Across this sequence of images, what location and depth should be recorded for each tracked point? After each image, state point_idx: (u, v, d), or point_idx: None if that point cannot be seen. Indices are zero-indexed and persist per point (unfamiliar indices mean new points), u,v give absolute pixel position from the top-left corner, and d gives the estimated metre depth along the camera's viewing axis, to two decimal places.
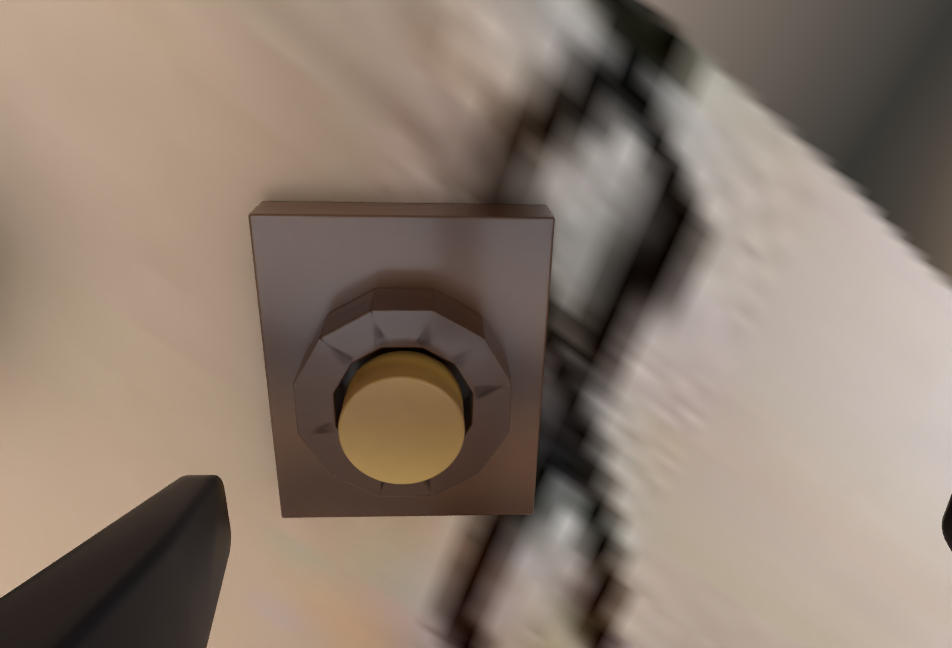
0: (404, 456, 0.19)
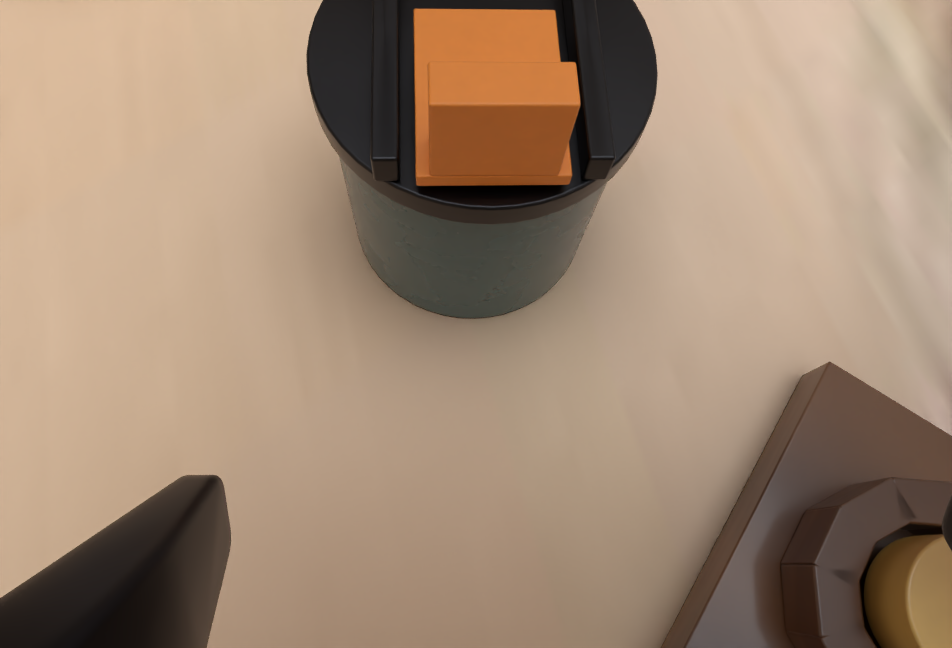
0: None
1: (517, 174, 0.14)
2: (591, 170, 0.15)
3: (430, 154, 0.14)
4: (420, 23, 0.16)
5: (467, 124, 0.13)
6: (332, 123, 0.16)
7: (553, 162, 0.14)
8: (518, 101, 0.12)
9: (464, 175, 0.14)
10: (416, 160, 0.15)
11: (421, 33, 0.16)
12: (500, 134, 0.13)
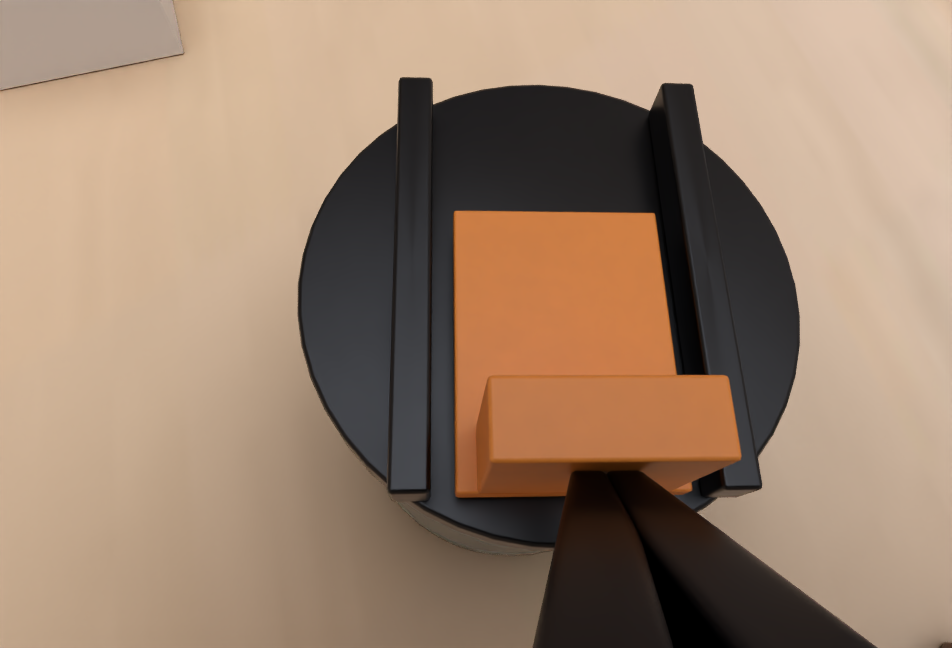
0: None
1: None
2: (720, 494, 0.10)
3: (482, 483, 0.09)
4: (463, 233, 0.11)
5: (548, 471, 0.08)
6: (331, 400, 0.11)
7: (669, 485, 0.09)
8: (638, 452, 0.07)
9: (529, 491, 0.09)
10: (456, 464, 0.10)
11: (464, 250, 0.11)
12: None
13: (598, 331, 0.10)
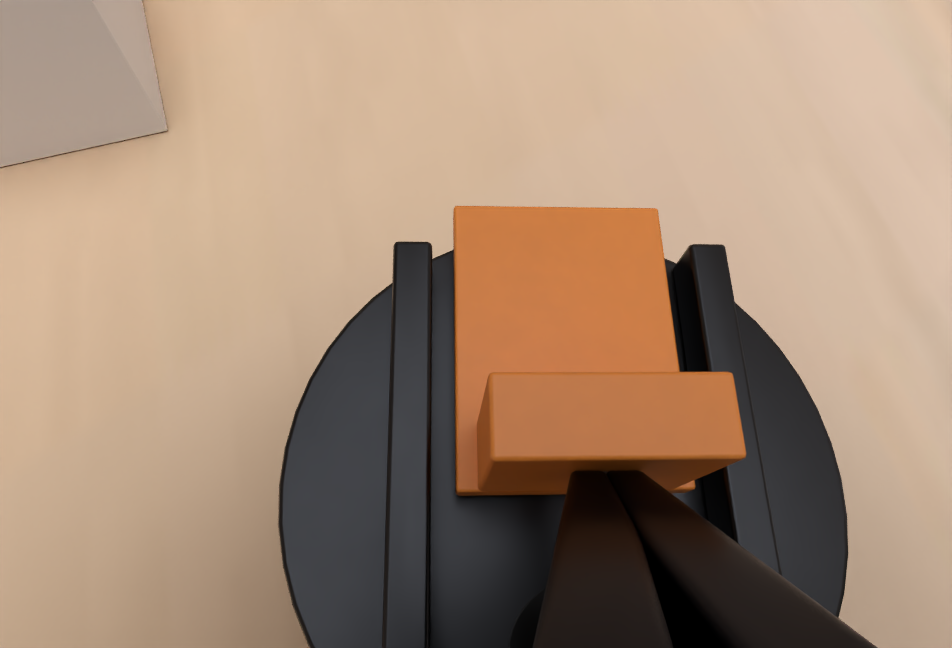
0: None
1: None
2: None
3: (483, 481, 0.09)
4: (464, 229, 0.11)
5: (550, 469, 0.08)
6: (315, 636, 0.09)
7: (672, 483, 0.09)
8: (641, 450, 0.07)
9: (530, 489, 0.09)
10: (457, 462, 0.09)
11: (465, 246, 0.11)
12: None
13: (601, 327, 0.10)
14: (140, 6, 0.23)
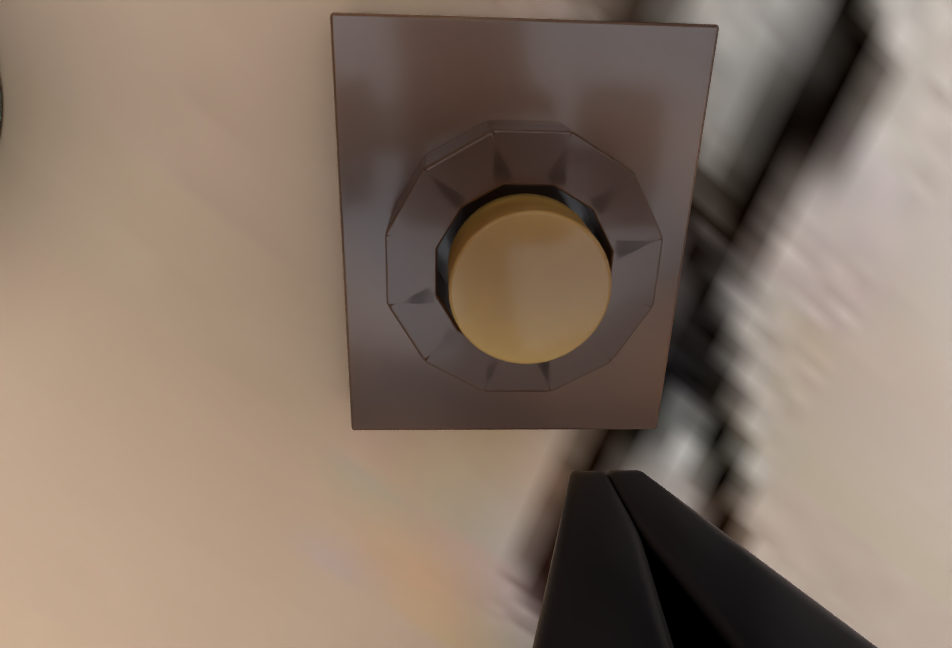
0: (531, 324, 0.15)
1: None
2: None
3: None
4: None
5: None
6: None
7: None
8: None
9: None
10: None
11: None
12: None
13: None
14: None
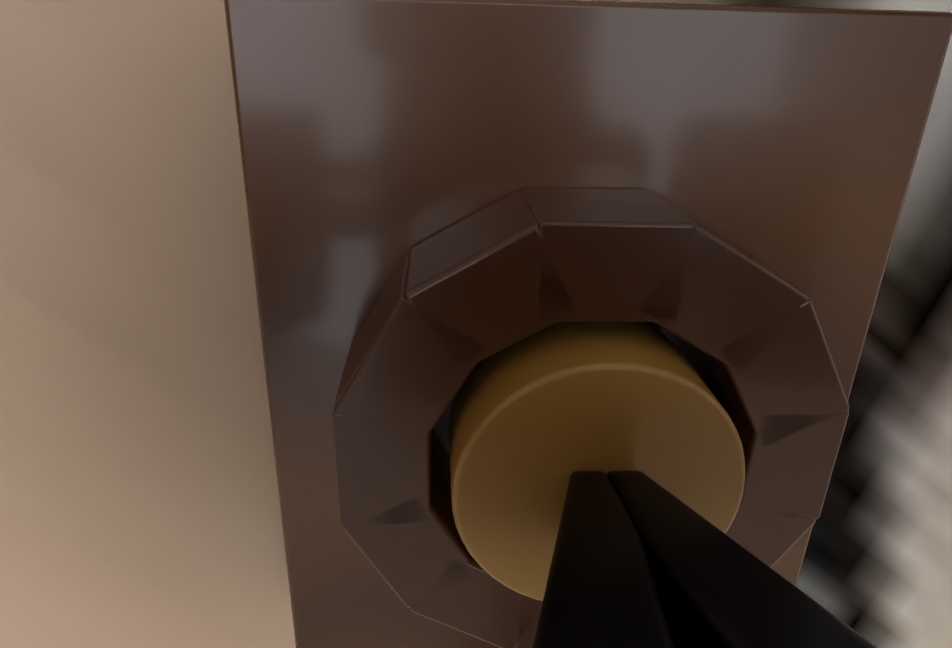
0: None
1: None
2: None
3: None
4: None
5: None
6: None
7: None
8: None
9: None
10: None
11: None
12: None
13: None
14: None
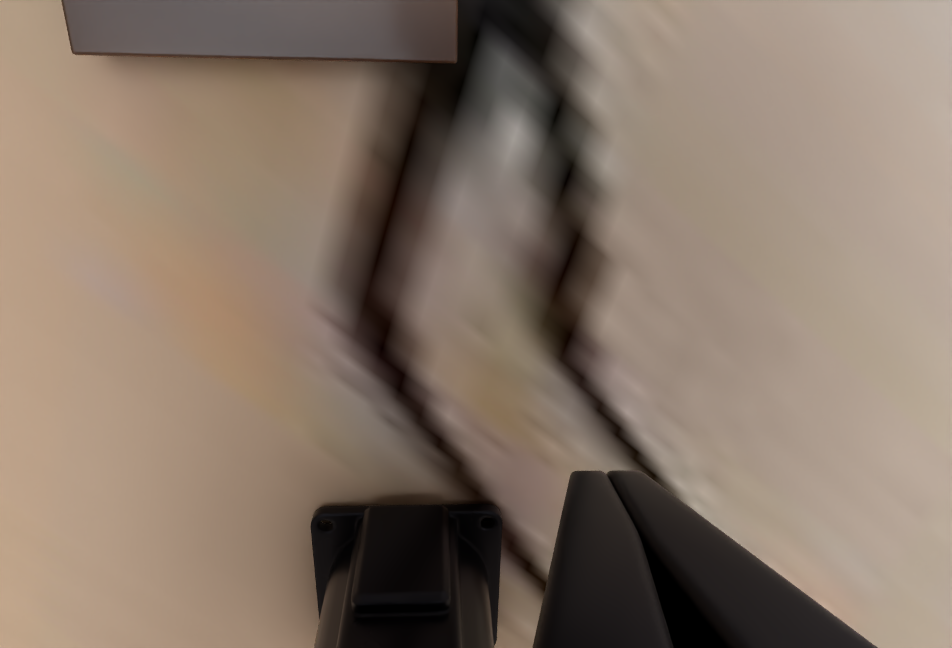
0: None
1: None
2: None
3: None
4: None
5: None
6: None
7: None
8: None
9: None
10: None
11: None
12: None
13: None
14: None
